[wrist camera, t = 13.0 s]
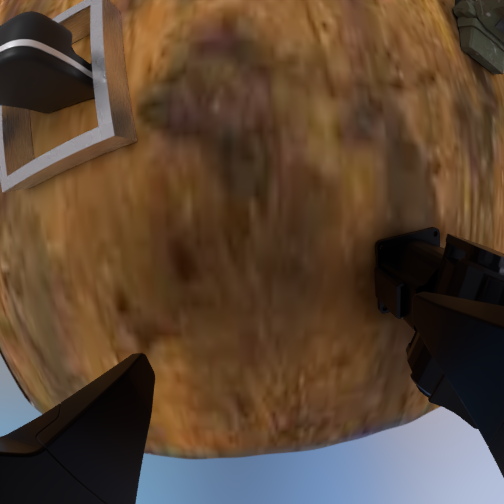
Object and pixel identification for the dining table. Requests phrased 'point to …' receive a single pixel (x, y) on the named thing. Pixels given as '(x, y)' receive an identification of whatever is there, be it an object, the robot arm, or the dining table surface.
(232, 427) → the dining table surface
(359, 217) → the dining table surface
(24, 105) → the battery charger
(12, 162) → the hollow square metal frame
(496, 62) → the mechanical leg
